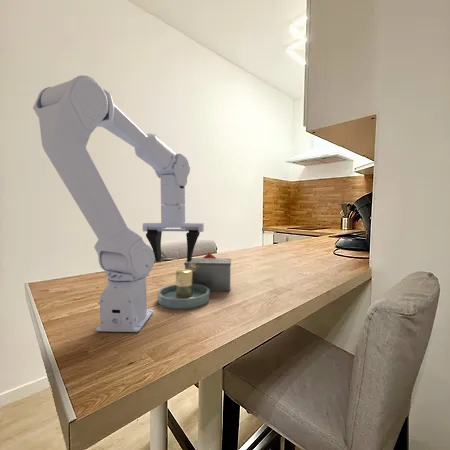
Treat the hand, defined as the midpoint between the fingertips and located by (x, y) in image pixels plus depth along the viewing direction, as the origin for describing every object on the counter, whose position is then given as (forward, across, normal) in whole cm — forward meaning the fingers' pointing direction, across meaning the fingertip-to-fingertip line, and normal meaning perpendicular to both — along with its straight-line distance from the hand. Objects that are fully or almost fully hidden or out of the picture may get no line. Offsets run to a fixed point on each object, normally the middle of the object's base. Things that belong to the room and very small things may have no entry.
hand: (173, 261), depth 67 cm
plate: (+9, -3, +1) cm, 10 cm away
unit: (+9, -7, -9) cm, 15 cm away
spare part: (+8, -3, +1) cm, 9 cm away
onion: (+10, -6, -21) cm, 24 cm away
